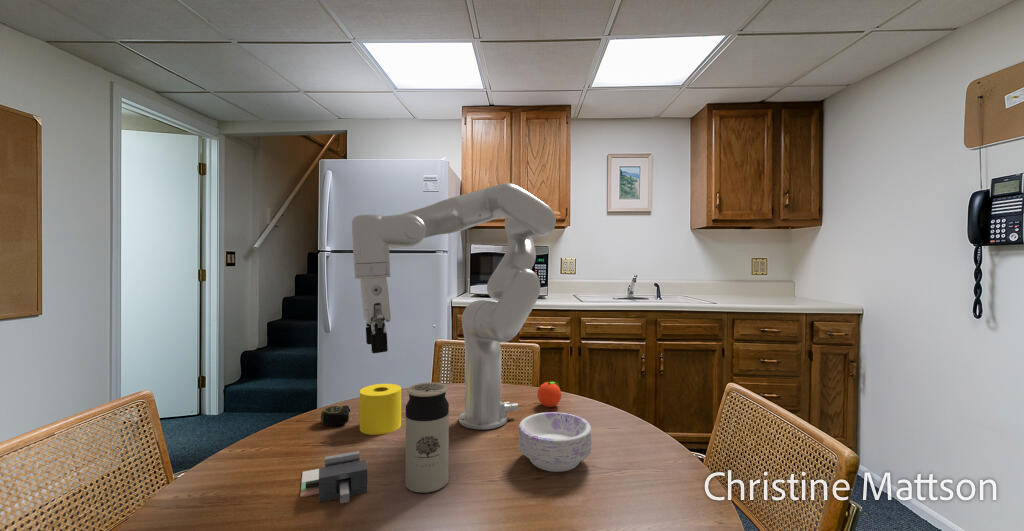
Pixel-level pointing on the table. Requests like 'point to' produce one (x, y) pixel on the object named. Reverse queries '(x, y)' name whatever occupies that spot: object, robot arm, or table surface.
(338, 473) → the block
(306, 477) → the scale strip
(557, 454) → the paper bowls
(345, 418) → the tape measure
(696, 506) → the table surface
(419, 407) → the travel mug
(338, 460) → the grey t-shaped piece
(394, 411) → the tape roll
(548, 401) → the clementine
